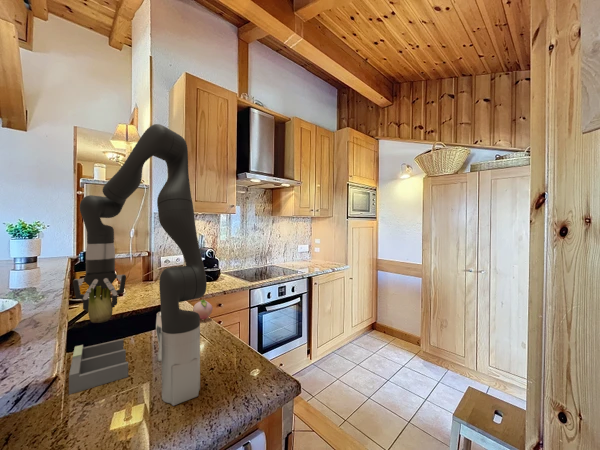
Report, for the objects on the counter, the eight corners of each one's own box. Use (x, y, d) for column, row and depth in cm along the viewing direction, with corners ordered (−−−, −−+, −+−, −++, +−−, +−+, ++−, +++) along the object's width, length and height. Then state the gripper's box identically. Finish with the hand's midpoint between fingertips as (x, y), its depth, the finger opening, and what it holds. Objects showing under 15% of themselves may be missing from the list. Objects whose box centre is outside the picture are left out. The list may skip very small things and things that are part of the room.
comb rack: (128, 376, 75) (128, 358, 75) (68, 394, 67) (68, 373, 67) (123, 349, 92) (123, 334, 92) (75, 361, 84) (75, 345, 84)
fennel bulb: (86, 325, 80) (87, 286, 80) (92, 320, 85) (92, 283, 85) (109, 322, 82) (109, 285, 82) (113, 318, 87) (114, 282, 87)
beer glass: (155, 364, 82) (155, 317, 82) (156, 354, 88) (156, 311, 88) (179, 359, 85) (179, 313, 86) (178, 350, 92) (178, 308, 92)
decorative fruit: (190, 319, 123) (190, 298, 123) (208, 315, 127) (208, 295, 128) (196, 325, 115) (196, 302, 115) (214, 321, 120) (214, 299, 120)
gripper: (70, 260, 77) (70, 316, 77) (128, 256, 85) (128, 307, 85) (72, 258, 83) (72, 310, 82) (126, 254, 91) (126, 302, 91)
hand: (100, 308), depth 84 cm, fingers closed on fennel bulb, 6 cm apart
